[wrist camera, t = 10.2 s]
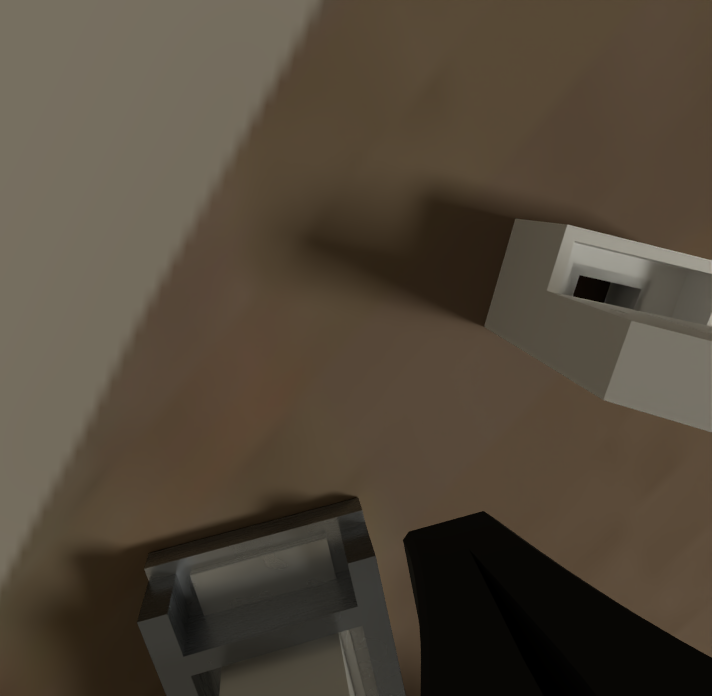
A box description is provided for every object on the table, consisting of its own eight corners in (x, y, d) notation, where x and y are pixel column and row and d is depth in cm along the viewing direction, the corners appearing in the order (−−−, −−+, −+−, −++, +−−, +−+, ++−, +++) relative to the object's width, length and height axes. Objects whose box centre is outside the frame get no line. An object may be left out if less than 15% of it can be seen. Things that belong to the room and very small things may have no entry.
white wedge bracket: (786, 397, 18) (977, 510, 10) (492, 317, 21) (455, 355, 13) (833, 292, 17) (1083, 322, 9) (519, 223, 20) (498, 201, 12)
